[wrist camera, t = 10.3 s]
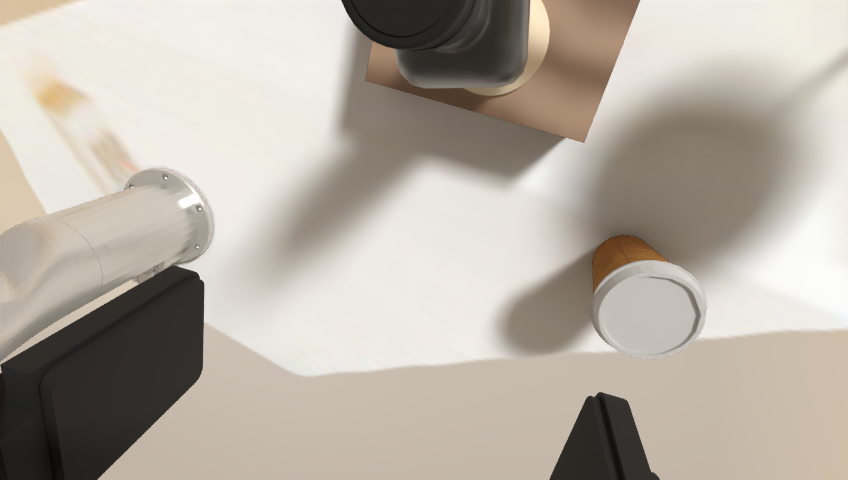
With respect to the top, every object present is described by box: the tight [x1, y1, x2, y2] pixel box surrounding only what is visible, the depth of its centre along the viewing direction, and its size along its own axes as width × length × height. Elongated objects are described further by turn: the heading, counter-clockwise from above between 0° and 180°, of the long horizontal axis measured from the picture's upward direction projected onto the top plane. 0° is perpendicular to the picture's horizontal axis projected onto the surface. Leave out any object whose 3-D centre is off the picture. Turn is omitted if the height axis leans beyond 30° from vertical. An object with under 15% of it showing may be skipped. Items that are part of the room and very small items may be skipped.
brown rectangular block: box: [365, 0, 640, 142], centre depth 41 cm, size 12×20×8 cm, turn 76°
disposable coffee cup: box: [590, 235, 707, 359], centre depth 45 cm, size 10×10×12 cm
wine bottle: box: [341, 0, 531, 88], centre depth 23 cm, size 6×6×30 cm
